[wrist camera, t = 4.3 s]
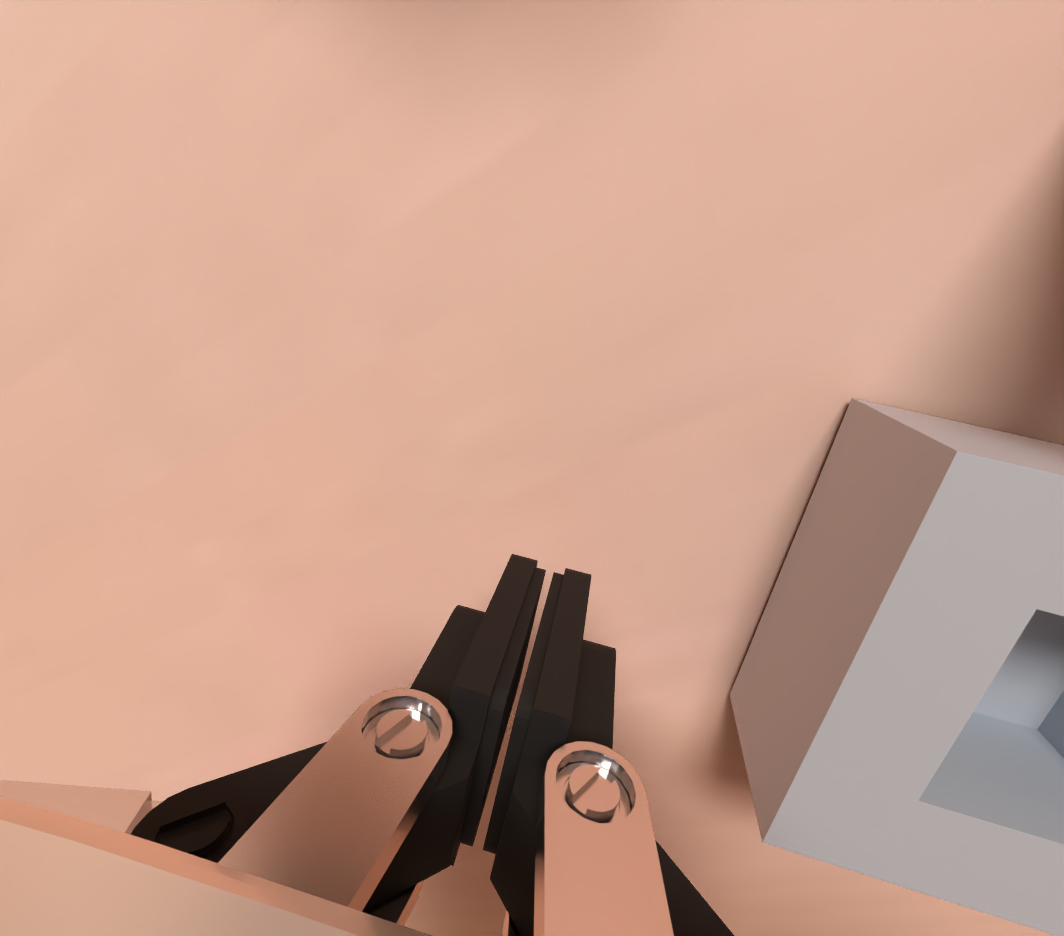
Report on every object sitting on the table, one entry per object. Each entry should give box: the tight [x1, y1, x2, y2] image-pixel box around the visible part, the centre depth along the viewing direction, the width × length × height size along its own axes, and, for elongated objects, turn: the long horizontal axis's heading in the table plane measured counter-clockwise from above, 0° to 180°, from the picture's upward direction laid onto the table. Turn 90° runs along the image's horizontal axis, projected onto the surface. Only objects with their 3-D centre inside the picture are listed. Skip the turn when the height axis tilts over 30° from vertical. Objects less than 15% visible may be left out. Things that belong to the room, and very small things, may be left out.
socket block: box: [730, 398, 1064, 936], centre depth 13 cm, size 10×10×5 cm
